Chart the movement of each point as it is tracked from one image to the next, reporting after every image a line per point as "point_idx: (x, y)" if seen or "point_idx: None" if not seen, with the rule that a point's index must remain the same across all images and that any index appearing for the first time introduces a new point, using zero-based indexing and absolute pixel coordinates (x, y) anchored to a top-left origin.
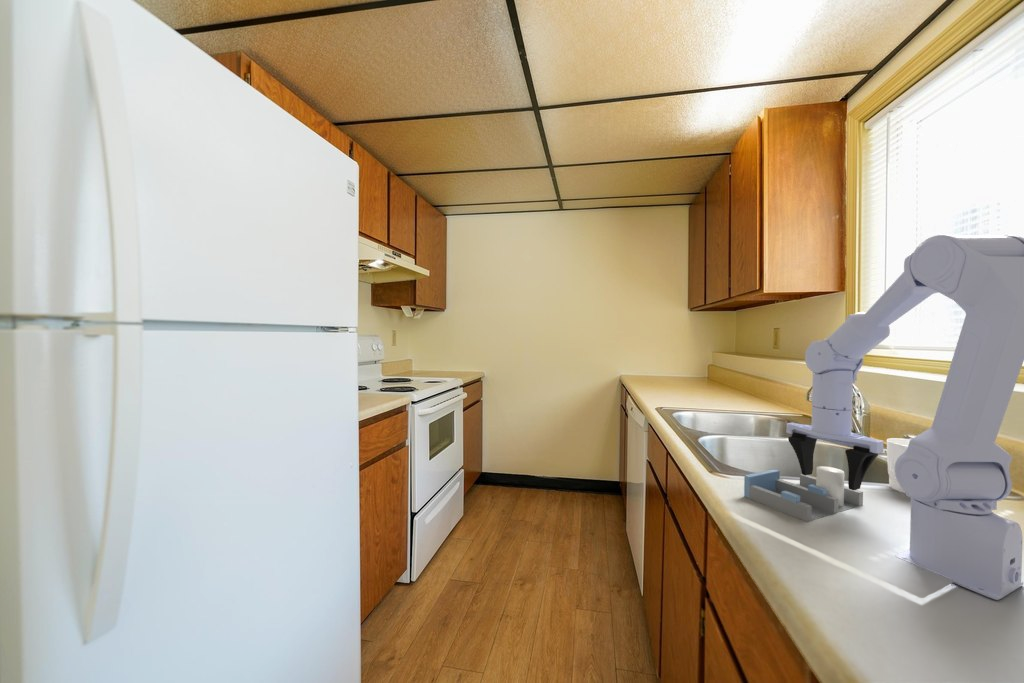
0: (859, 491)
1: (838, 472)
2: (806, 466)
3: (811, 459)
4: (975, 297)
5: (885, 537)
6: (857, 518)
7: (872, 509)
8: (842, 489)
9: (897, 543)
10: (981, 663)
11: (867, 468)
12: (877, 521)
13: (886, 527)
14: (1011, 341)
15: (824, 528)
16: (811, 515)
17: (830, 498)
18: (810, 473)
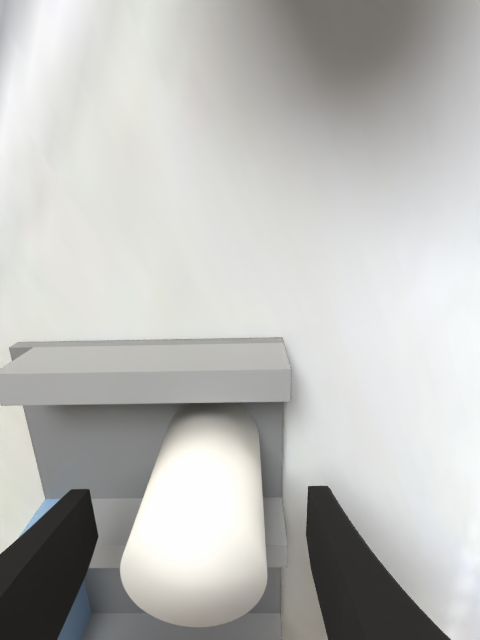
0: (280, 380)
1: (243, 578)
2: (73, 581)
3: (35, 574)
4: None
5: (427, 512)
6: (321, 451)
7: (305, 309)
8: (262, 494)
9: (460, 521)
10: None
11: (406, 599)
12: (367, 415)
13: (403, 439)
14: None
15: (311, 595)
16: (281, 630)
17: (271, 565)
18: (89, 505)
